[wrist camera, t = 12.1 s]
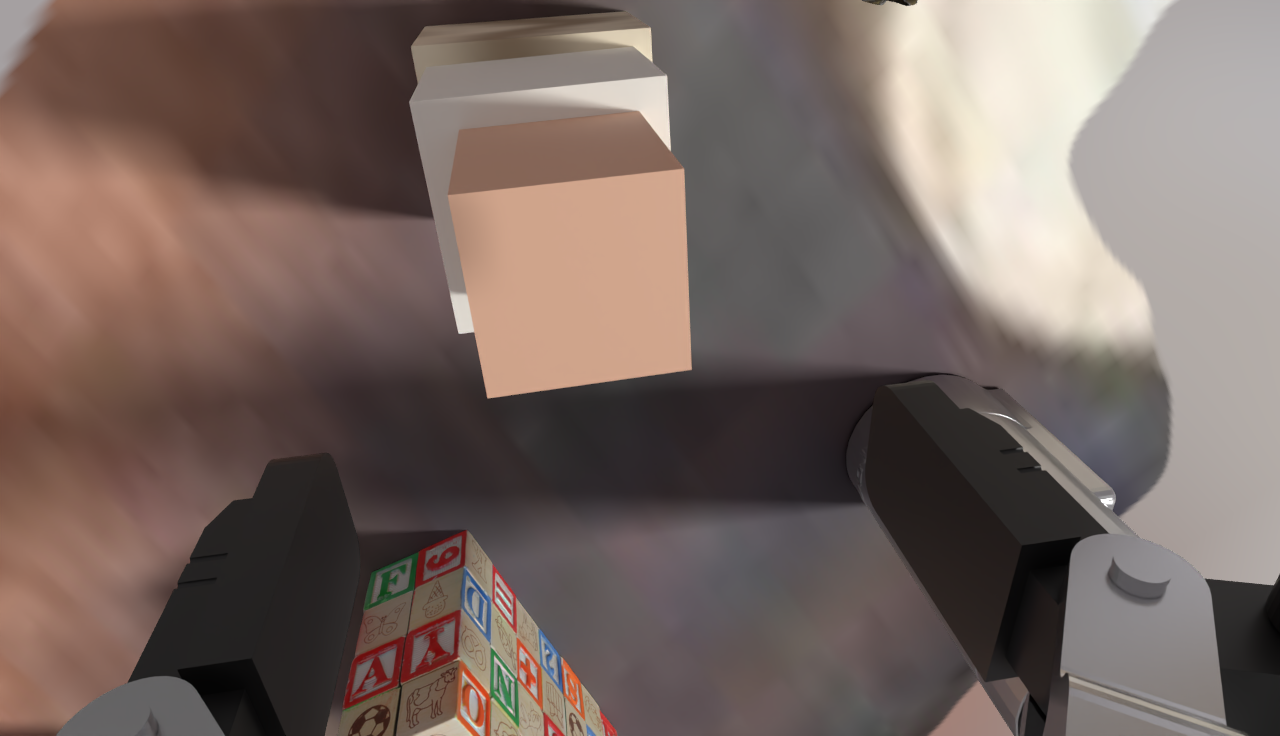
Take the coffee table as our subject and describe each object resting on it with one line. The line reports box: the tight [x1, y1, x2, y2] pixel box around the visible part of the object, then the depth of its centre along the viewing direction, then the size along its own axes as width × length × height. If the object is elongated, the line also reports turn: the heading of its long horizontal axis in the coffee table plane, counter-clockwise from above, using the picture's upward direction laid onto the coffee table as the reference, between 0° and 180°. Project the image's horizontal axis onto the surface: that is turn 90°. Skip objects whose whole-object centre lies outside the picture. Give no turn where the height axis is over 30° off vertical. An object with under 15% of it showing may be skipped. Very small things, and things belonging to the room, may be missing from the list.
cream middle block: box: [409, 46, 671, 334], centre depth 25 cm, size 7×7×6 cm
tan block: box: [448, 111, 692, 398], centre depth 20 cm, size 5×5×6 cm
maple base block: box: [411, 11, 652, 83], centre depth 30 cm, size 8×8×6 cm
